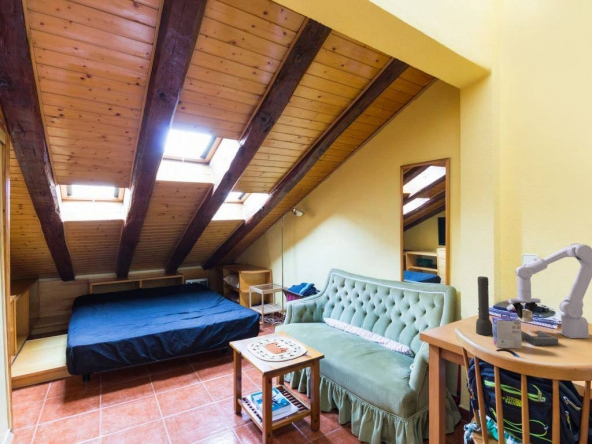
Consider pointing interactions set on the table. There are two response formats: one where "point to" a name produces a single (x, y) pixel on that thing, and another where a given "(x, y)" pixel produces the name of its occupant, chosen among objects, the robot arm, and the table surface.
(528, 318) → the birch block
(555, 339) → the cradle
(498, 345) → the ink cartridge box
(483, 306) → the flashlight
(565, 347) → the table surface
